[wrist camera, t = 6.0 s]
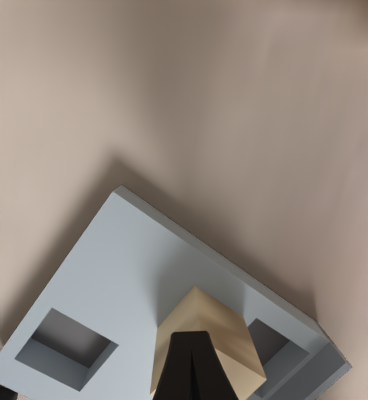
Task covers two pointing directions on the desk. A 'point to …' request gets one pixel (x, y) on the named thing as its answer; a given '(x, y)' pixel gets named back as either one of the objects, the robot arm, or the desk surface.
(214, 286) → the board
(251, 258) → the desk surface
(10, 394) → the scope
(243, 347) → the block
